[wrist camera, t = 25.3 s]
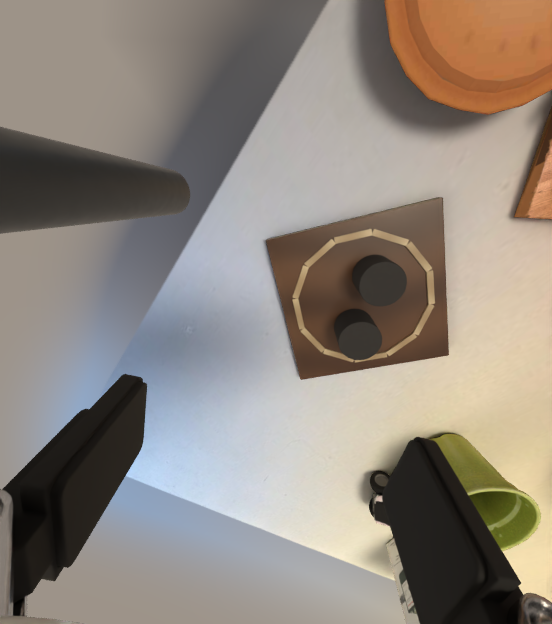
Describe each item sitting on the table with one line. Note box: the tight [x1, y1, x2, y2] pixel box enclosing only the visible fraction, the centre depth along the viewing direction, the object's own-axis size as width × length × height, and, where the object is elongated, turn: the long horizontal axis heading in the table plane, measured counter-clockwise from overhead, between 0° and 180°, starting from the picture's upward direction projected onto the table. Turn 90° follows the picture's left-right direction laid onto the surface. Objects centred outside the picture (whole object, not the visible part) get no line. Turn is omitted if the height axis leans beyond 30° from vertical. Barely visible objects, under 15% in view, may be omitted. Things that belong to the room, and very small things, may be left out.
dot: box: [334, 309, 382, 360], centre depth 28 cm, size 4×4×4 cm
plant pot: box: [430, 434, 541, 551], centre depth 32 cm, size 9×9×9 cm
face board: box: [266, 198, 449, 380], centre depth 29 cm, size 16×16×1 cm
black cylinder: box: [352, 255, 407, 307], centre depth 26 cm, size 4×4×4 cm
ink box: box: [386, 538, 420, 624], centre depth 38 cm, size 9×5×12 cm, turn 61°
